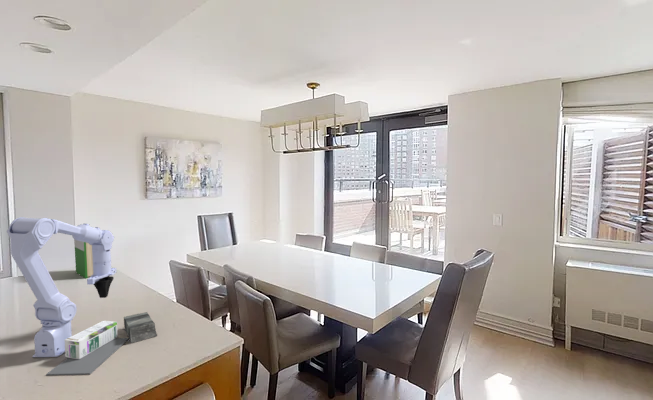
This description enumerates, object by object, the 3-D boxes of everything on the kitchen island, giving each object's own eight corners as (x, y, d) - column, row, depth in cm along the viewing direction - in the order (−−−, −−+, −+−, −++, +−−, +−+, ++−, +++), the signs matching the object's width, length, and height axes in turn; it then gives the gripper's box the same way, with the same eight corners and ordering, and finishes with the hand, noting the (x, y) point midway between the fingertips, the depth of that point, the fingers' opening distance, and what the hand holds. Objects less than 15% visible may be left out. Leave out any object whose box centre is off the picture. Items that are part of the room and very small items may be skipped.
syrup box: (118, 337, 116) (80, 360, 102) (103, 335, 117) (63, 357, 103) (117, 321, 116) (79, 341, 102) (103, 319, 117) (63, 339, 103)
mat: (90, 374, 95) (89, 373, 95) (46, 375, 95) (46, 374, 95) (129, 339, 116) (129, 338, 116) (93, 339, 115) (93, 338, 115)
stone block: (150, 322, 129) (150, 309, 129) (159, 336, 118) (159, 322, 118) (124, 329, 124) (123, 315, 123) (130, 344, 113) (129, 329, 112)
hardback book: (101, 275, 188) (99, 233, 186) (85, 278, 182) (83, 234, 181) (91, 269, 199) (89, 229, 198) (76, 272, 194) (73, 231, 192)
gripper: (100, 266, 119) (102, 304, 120) (123, 256, 133) (125, 290, 134) (80, 267, 118) (82, 304, 119) (105, 256, 133) (106, 290, 134)
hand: (103, 297), depth 127 cm, fingers closed
